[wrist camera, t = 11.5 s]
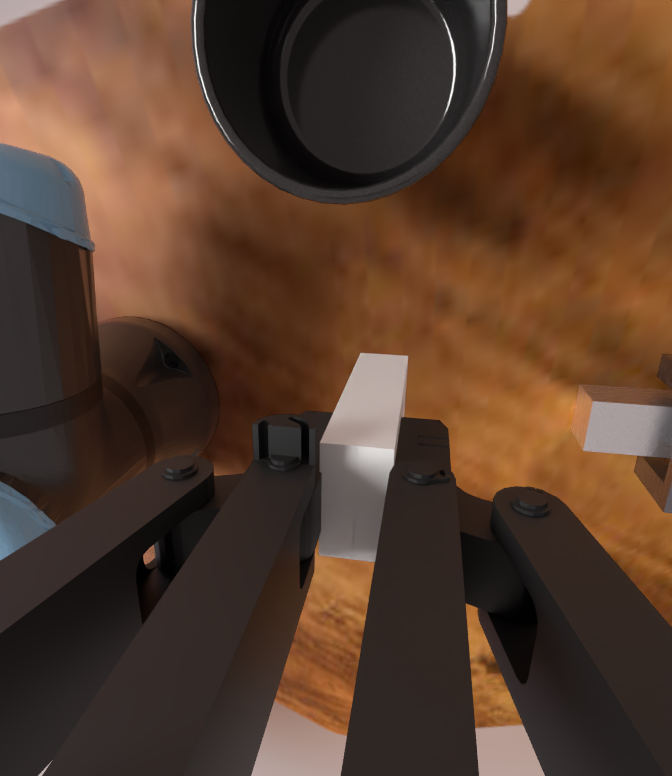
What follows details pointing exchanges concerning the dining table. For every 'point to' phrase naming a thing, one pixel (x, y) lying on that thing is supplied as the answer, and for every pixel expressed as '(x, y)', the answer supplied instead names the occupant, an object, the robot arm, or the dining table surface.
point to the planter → (346, 87)
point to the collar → (660, 478)
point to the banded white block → (623, 420)
